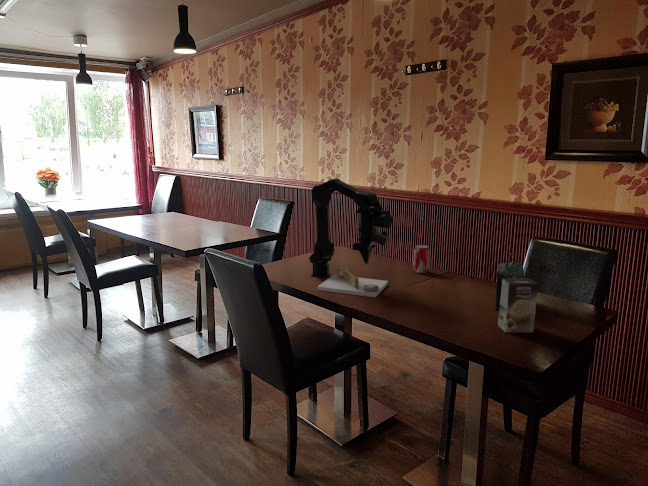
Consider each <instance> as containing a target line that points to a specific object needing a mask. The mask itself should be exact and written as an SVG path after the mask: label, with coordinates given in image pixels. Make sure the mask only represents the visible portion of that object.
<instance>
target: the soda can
mask: <svg viewBox="0 0 648 486" xmlns="http://www.w3.org/2000/svg"><path fill="white" fill-rule="evenodd" d="M414 246H415V247H414V249H413V258H412V261H413V262H412V269H413V272H414V273H416V274H420V273H424V274H427V273H428V272H429V270H430V257H431V255H430V251H431V250H430V248H429V245H425V244H417V245H414Z"/></svg>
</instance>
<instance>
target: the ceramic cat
mask: <svg viewBox="0 0 648 486" xmlns="http://www.w3.org/2000/svg"><path fill="white" fill-rule="evenodd" d="M511 256H513V257H515V253H514V252H510V254H509V256H508V261H507V262H505V263H504V262H501V263H499V264H498V266H497V269H496V273H495V278H496V288H495V294H496V295H495V296H496V297H495V310H496V311H498V312H499V308H500V298H501V288H502V278H526V277H525V268H524V266H523V264H522V260H521V259H519V258H517V259H515V260H514V261H512V262H510V258H511ZM517 261H518V262H519V263H518V262H517Z"/></svg>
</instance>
